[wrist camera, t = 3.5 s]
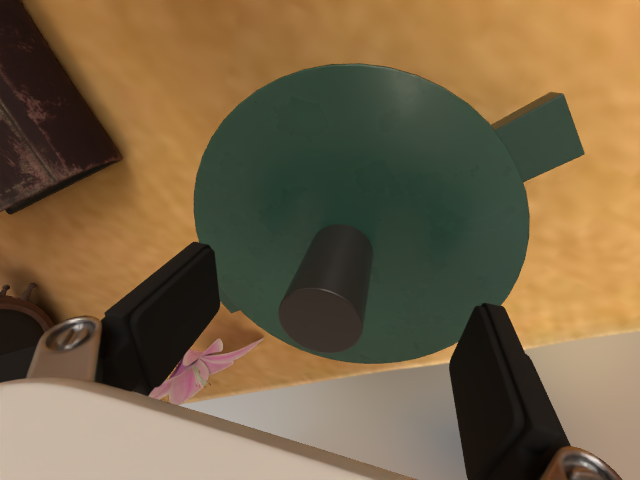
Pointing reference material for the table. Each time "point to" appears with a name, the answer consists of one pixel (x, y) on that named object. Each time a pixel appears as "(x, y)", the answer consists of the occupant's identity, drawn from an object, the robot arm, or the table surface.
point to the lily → (197, 371)
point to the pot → (526, 143)
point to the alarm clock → (20, 322)
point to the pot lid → (361, 212)
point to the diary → (41, 119)
